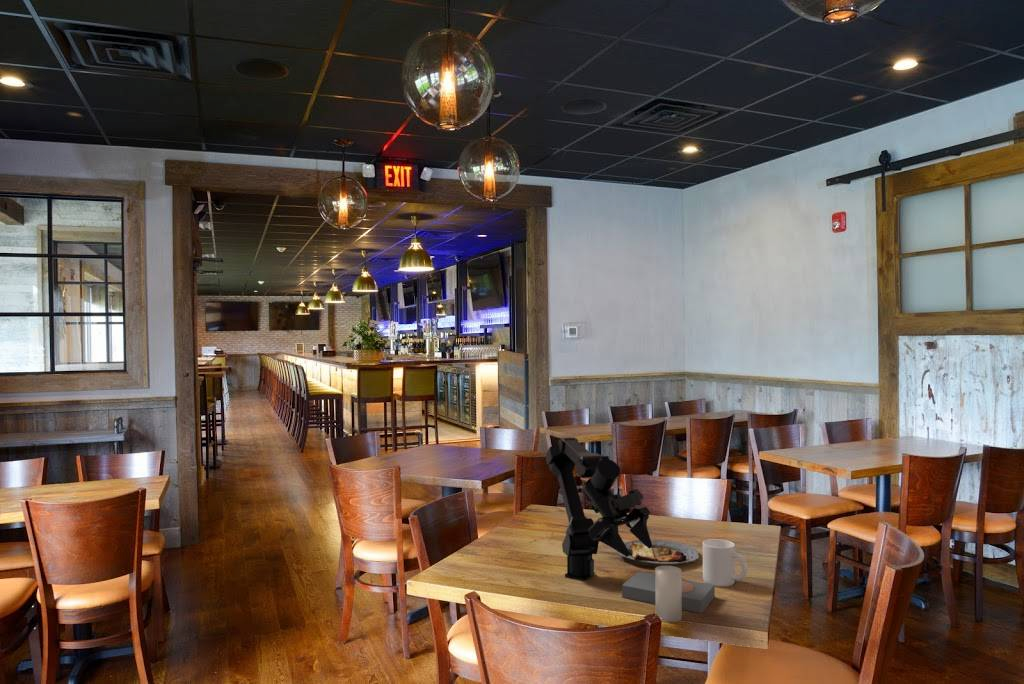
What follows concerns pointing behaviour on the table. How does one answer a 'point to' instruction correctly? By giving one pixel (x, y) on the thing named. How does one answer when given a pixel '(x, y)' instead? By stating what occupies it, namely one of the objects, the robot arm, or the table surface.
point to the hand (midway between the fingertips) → (640, 551)
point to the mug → (721, 563)
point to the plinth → (692, 592)
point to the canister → (668, 593)
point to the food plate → (661, 552)
